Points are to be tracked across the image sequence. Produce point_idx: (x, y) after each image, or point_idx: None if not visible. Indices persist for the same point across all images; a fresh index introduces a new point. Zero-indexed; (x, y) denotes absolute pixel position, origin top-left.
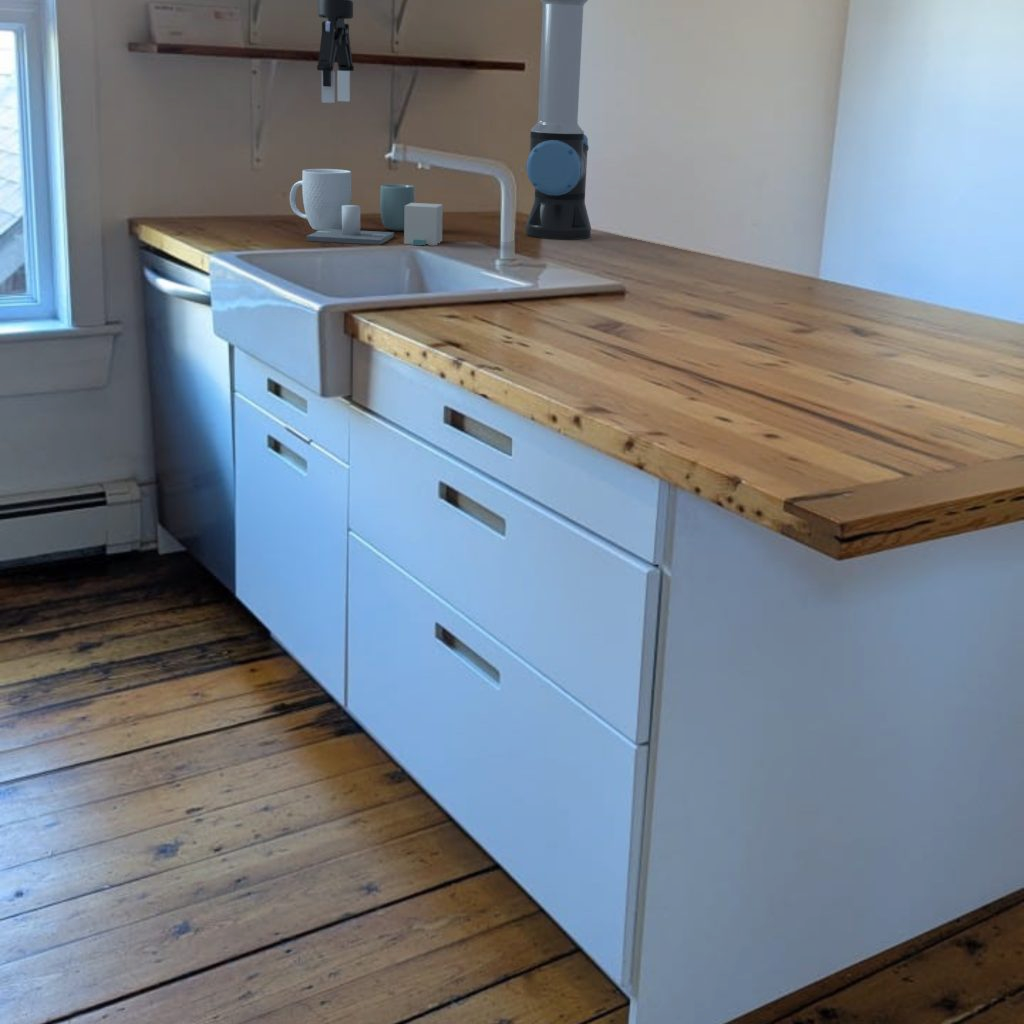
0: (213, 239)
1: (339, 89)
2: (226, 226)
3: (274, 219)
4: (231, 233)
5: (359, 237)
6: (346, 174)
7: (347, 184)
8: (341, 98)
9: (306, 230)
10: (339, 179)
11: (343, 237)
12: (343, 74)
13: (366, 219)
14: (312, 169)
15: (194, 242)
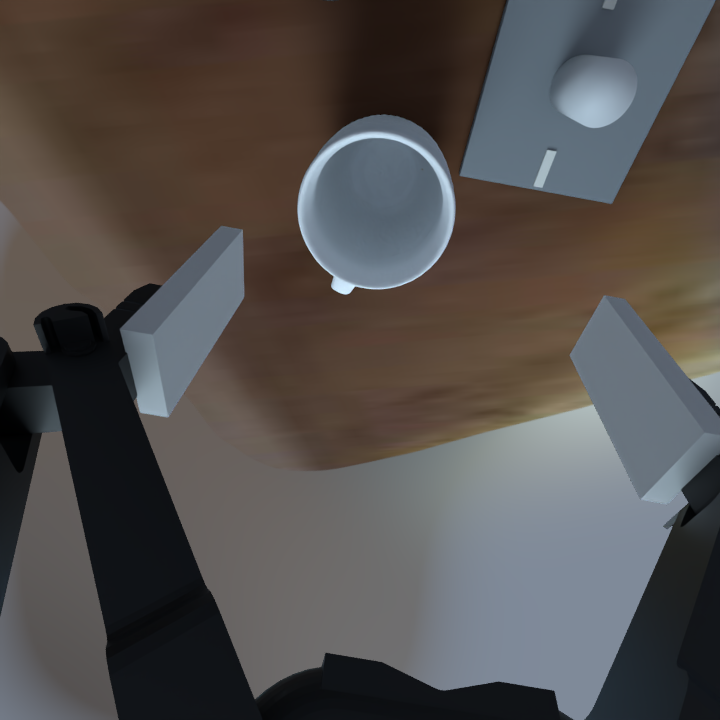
0: (573, 365)
1: (220, 322)
2: (381, 364)
3: None
4: (483, 348)
5: (657, 50)
6: (421, 143)
7: (416, 133)
8: (237, 283)
9: None
10: (443, 164)
11: (651, 102)
12: (176, 359)
13: (125, 78)
14: (327, 265)
15: None
